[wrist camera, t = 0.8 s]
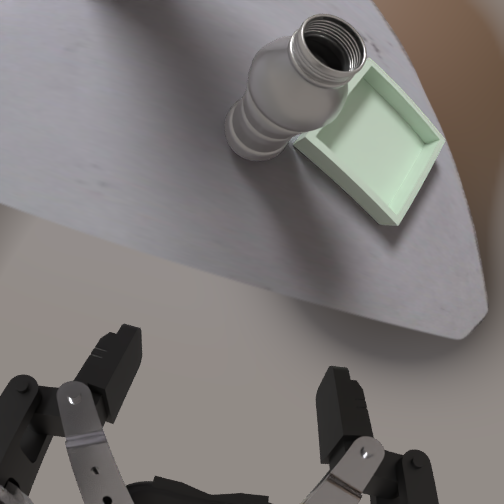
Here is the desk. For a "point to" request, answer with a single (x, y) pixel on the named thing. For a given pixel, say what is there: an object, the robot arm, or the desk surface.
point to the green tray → (376, 146)
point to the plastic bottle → (295, 86)
